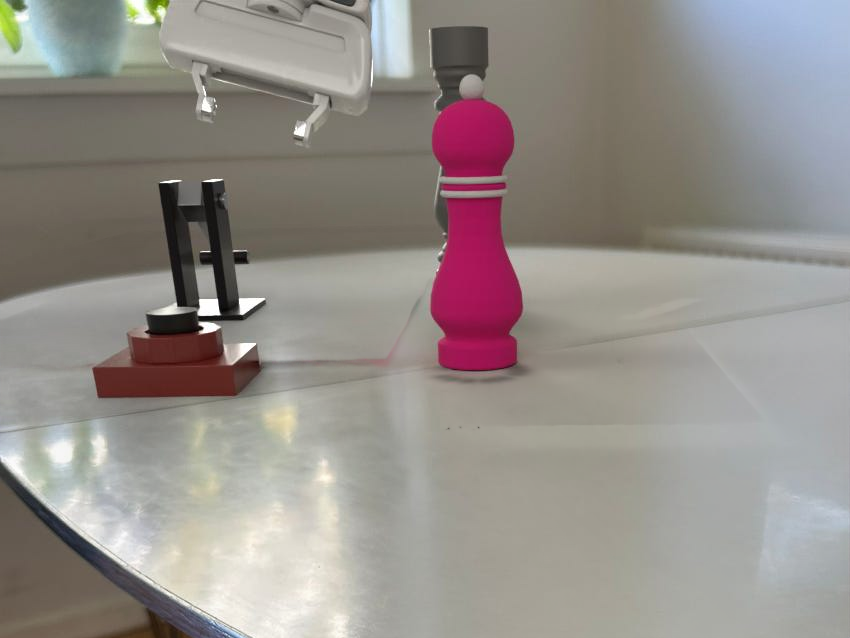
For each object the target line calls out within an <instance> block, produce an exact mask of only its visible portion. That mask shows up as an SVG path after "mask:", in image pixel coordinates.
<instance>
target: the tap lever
mask: <svg viewBox="0 0 850 638" xmlns="http://www.w3.org/2000/svg"><path fill="white" fill-rule="evenodd" d="M201 182H203V181H201V180H199V181H182V182H179V189H178V207H179V208H180V210H181V212H182V214H183V215H184V217H185V219H186V221H187V222H188V223H197V225H198V227H199V228H200V230H201V231H202V233H203V235H204V237H205V239H206V241H207V242H208V244H209V245H210V242H209V235H208V227H207V220H206V213H205V205H204V198H203V191H202V183H201ZM233 255H234V263H235V265H249V264H250V263H251V255H250V251H249V250H233ZM198 258H199V263H200V265H201V266H213V264H212V257H211V250H210V251H209V250H208V251H203V250H202V251H200V252H199V255H198Z"/></svg>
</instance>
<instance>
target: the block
mask: <svg viewBox="0 0 850 638" xmlns="http://www.w3.org/2000/svg"><path fill="white" fill-rule="evenodd" d="M199 328H200V331H197V332H193V333H186V334H177V335H151V334H149V330H148V325H145V326H139V327H136V328H135V327H134V328H133V329H131V330H129V331H127V332H126V337H127V338H126V339H127V344H128V346H127V347H125V348H124V349H121V350H120V351H119V352H117V353H115V354H113V355H111V356H110V357H108V358H106V359H105V360H103V361H102V362H99V363H98V364H96V365H94V366H93V367H92V368H91V369H92V374H93V375H92V376H93V380H94V384H95V389H96V395H97V398H98V399H125V398H128V399H129V398H130V399H133V398H135V399H137V398H184V397H185V398H188V397H189V398H190V397H191V398H193V397H236V396H237V395H238V394H240V393H241V391H242V390H244V388H246V387H247V385H248V384H250V382H252V380H254V378H255V377H256V376H258V375H259V374H260V373H261V366H260V355H259V349H258V343H256V342H255V343H254V342H253V343H252V342H251V343H247V342H246V343H224V339H223V338H224V337H223V330H222V326H221V325H218V324H216V323H214V322H206V321H199Z"/></svg>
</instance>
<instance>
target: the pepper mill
mask: <svg viewBox="0 0 850 638" xmlns="http://www.w3.org/2000/svg"><path fill="white" fill-rule="evenodd" d="M459 91H460V94H461V96H462V98H463V99H464V100H462V101H458V102H455V103H453V104H451V105H449V106H448V107H446V108H445V109H444V110H443V111H442V112H441V113H440V112H439V114H438V115H437V117H436V119H435V121H434V124H433V126H432V130H431V150H432V153H433V156H434V157H435V159H436V160H437V162H438V163H439V165H441V166H442V167H443V169H444V172H445V176H442V177H441V178H440V182H441V183H442V184H443V185H442V187H441V188H442V191H441V192H440V195H441V196H442V197H445V198H446V202H447V209H448V216H449V222H448V239H447V245H446V250H445V253H444V256H443V259H442V262H441V263H440V264H439V267H438V269H439V270H438V272H437V275H436V274H435V277H434V280H433V283H432V287H431V292H430V304H429V305H430V306H429V310H430V316H431V318H432V319H433V321H434V323H436V324H437V326H438V327H439V328H440V329H441V330H442V332H443V333H444V336H443V337H441V338H439V340H438V341H437V355H438V357H437V359H438V363H439V365H440V366H441V367H443V368H447V369H450V370H455V371H490V370H491V371H493V370H499V369H504V368H505V369H506V368H508V367H511V366H513V365H515V364H516V362H517V361H518V340H517V338H516V337H514V336H513V335H510V333H511V331H512V330H513V328H514V327H515V325H516V324H517V322H518V321H519V320H520V318H521V316H522V315H523V311H524V303H523V301H524V300H523V292H522V288H521V285H520V281H519V278H518V276H517V273H516V271H515V269H514V267H513V264H512V261H511V260H510V257H509V255H508V252H507V249H506V247H505V242H504V237H503V234H502V217H501V216H502V206H503V197H505V196H507V195H508V194H509V190H508V189H507V183H506V182H508V181H509V180H508V179H509V178H508V175H506V174H503V171H504V168H505V166H506V164H507V163H508V161H510V158H511V157H512V155H513V154H514V150H515V134H514V128H513V124H512V122H511V121H512V120H510V118H509V116H508V114H507V113H506V111H504V110H503V109H502V108H501V107H500V106H499V105H497V104H495V103H493V102H491V101H487V100H486V101H484V100H480V99H481V97H484V96H483V95H484V93H485V84H484V80H483V81H482V80H481V79H480V77H478V76H477V75H474V74H470V75H467V76H465V77H464V78H463V79H462V81H461V83H460V87H459Z"/></svg>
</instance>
